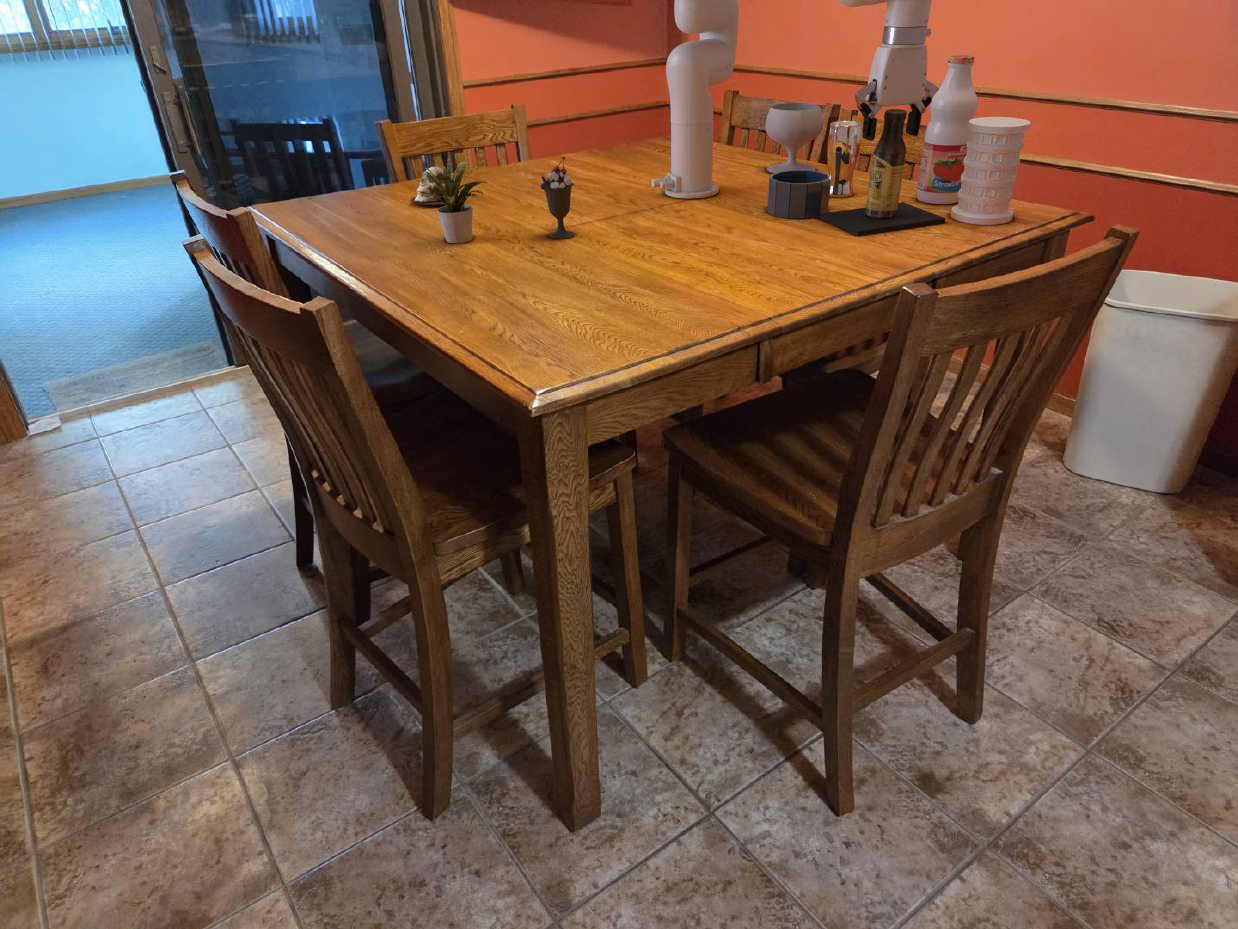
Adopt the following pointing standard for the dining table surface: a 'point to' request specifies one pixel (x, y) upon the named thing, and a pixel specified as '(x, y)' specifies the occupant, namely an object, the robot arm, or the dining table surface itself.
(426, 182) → the skull
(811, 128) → the chalice
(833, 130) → the beer glass
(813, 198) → the holder
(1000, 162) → the decorative container
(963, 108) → the fruit juice
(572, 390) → the dining table surface
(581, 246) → the dining table surface
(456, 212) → the house plant
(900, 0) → the robot arm
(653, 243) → the dining table surface
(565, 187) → the sundae
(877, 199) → the sauce bottle
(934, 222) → the placemat
